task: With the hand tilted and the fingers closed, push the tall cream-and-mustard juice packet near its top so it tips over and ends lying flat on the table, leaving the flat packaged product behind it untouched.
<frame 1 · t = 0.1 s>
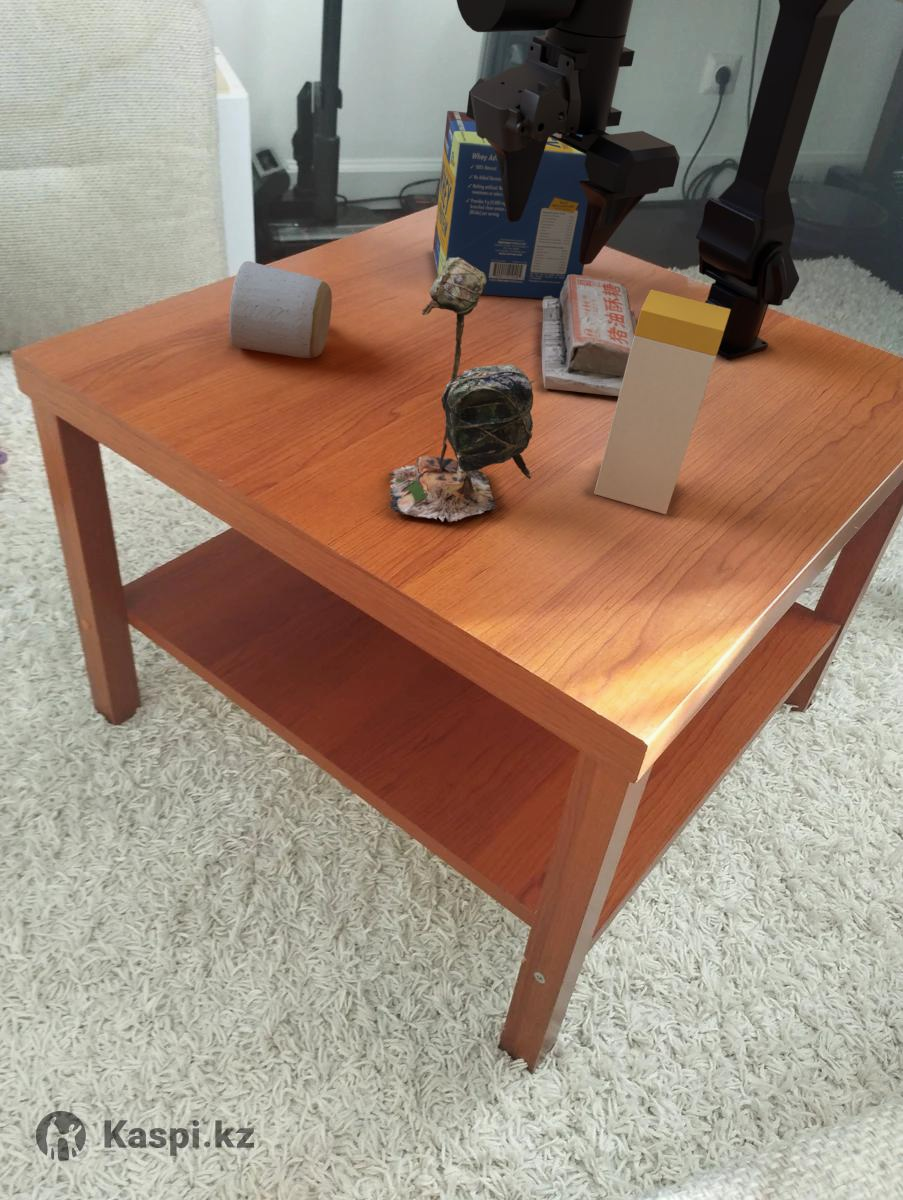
hand: (548, 241, 82), 15 cm above the table, tool pointing down, fingers open, 9 cm apart
packaged product: (589, 355, 100), on the table
protein box: (502, 279, 111), on the table
grey cylinder: (281, 344, 94), on the table
juice packet: (634, 491, 82), on the table
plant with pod: (454, 500, 78), on the table
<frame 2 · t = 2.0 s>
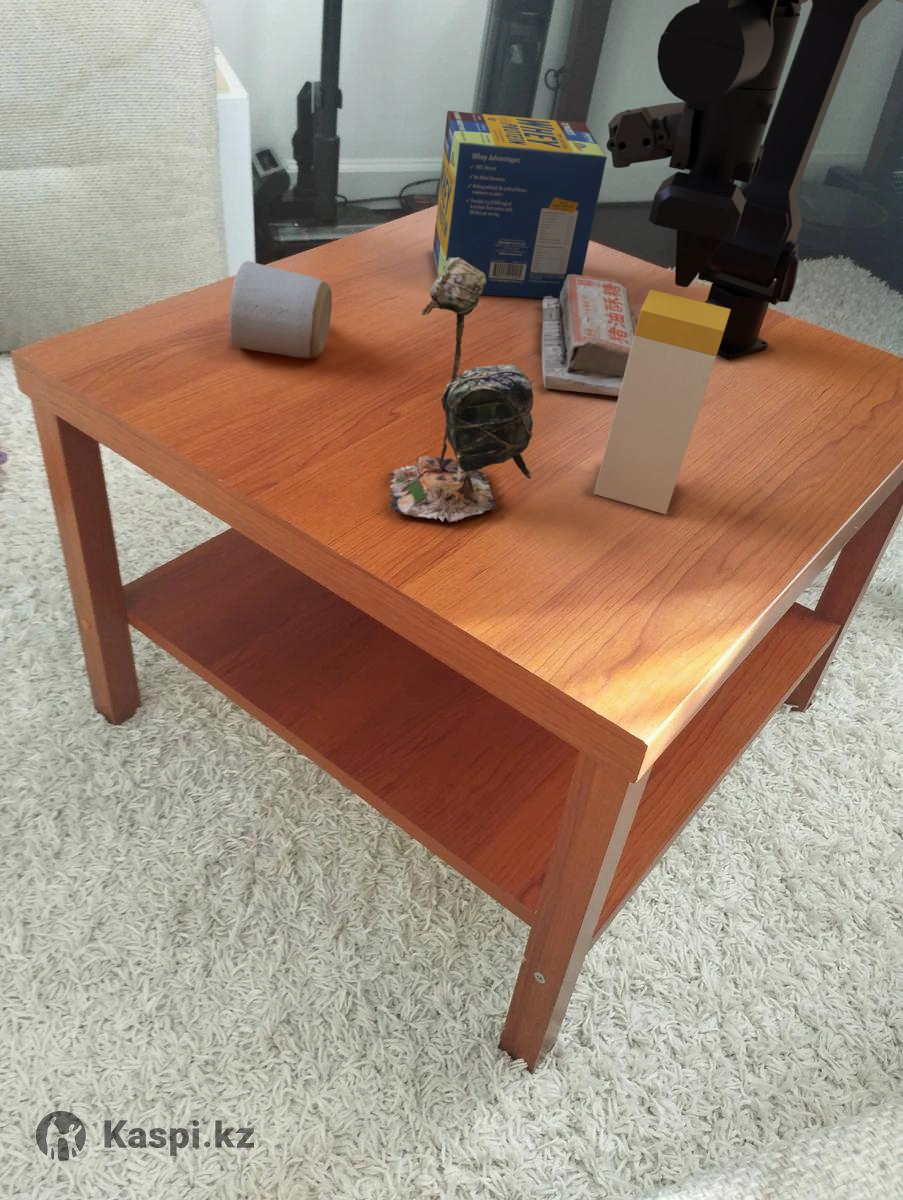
hand: (682, 284, 82), 13 cm above the table, tool pointing down, fingers closed
nothing on the table moved.
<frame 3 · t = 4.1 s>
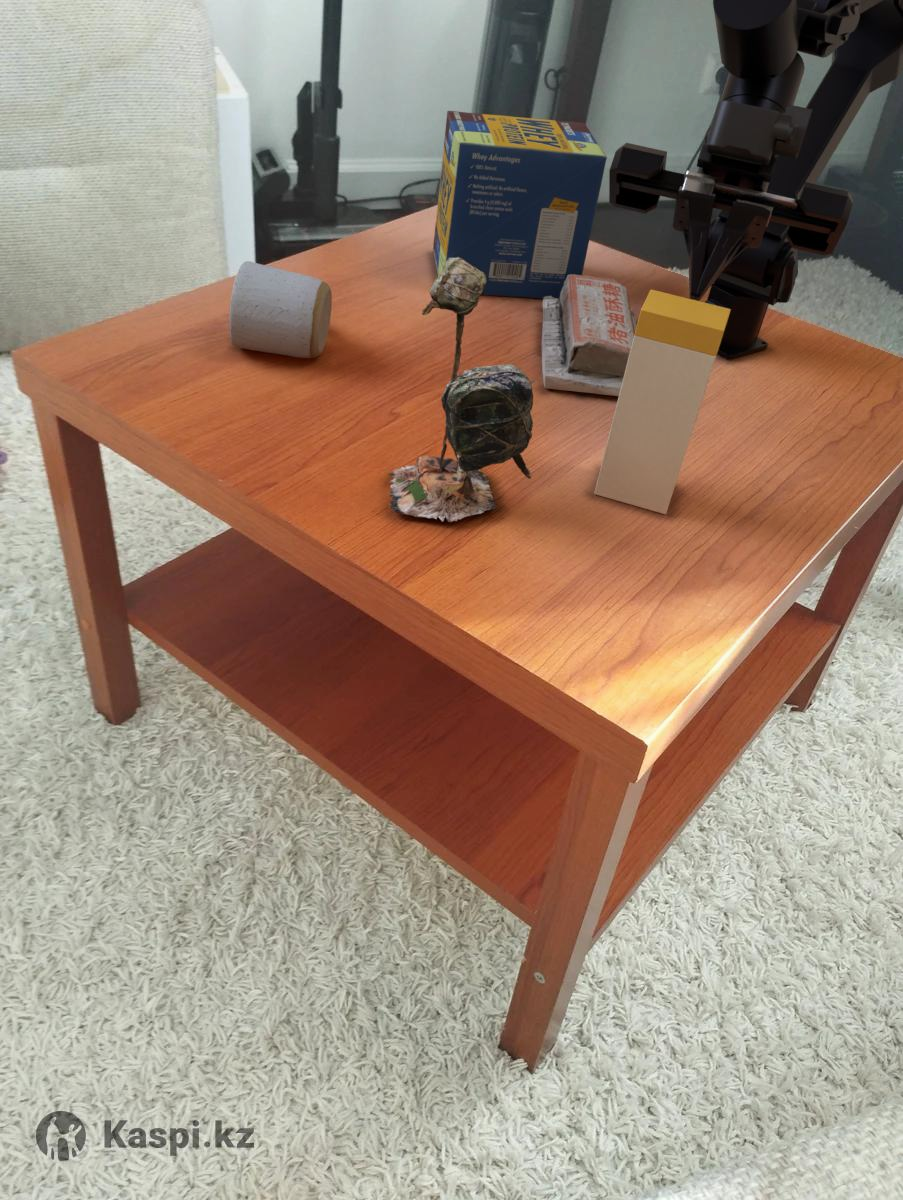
hand: (694, 298, 79), 13 cm above the table, tool tilted 45°, fingers closed
nothing on the table moved.
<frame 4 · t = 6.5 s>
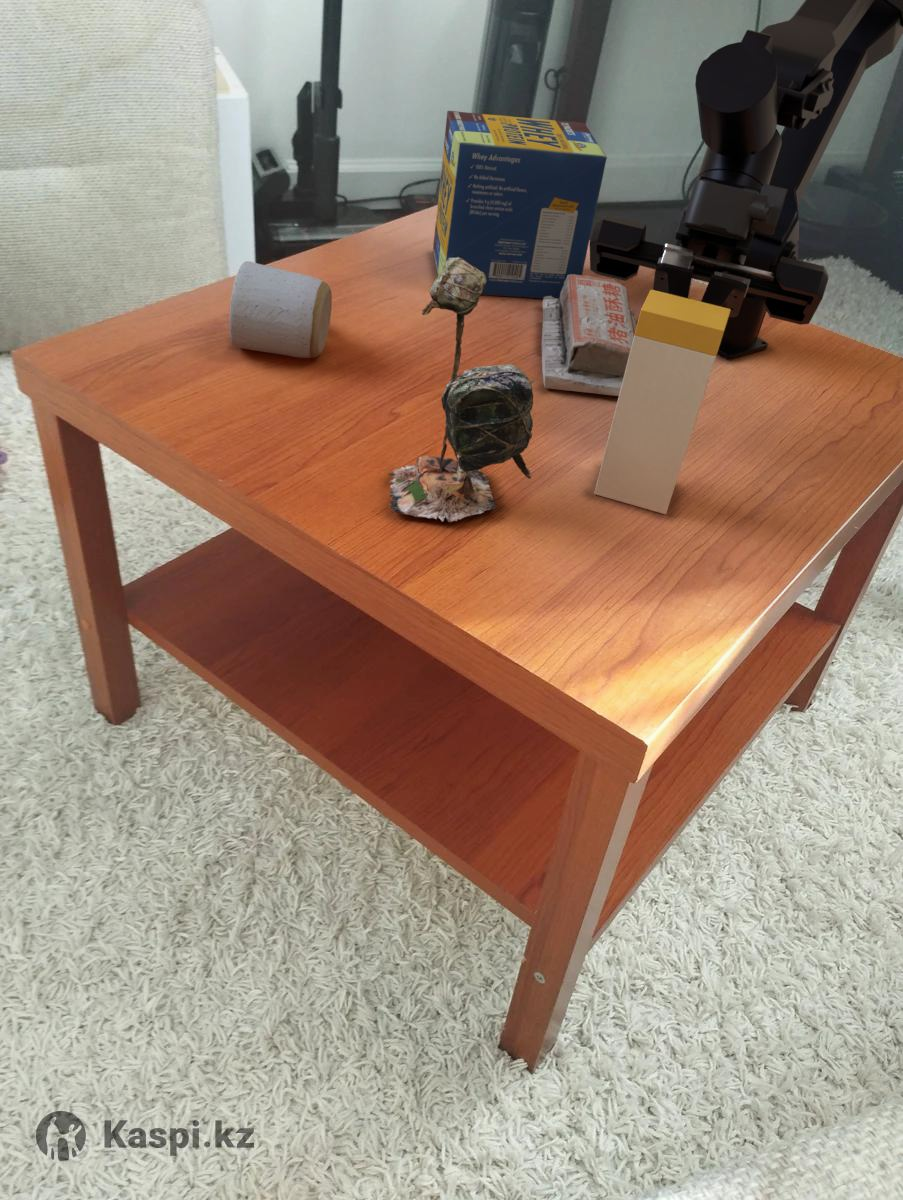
hand: (673, 367, 80), 9 cm above the table, tool tilted 45°, fingers closed
nothing on the table moved.
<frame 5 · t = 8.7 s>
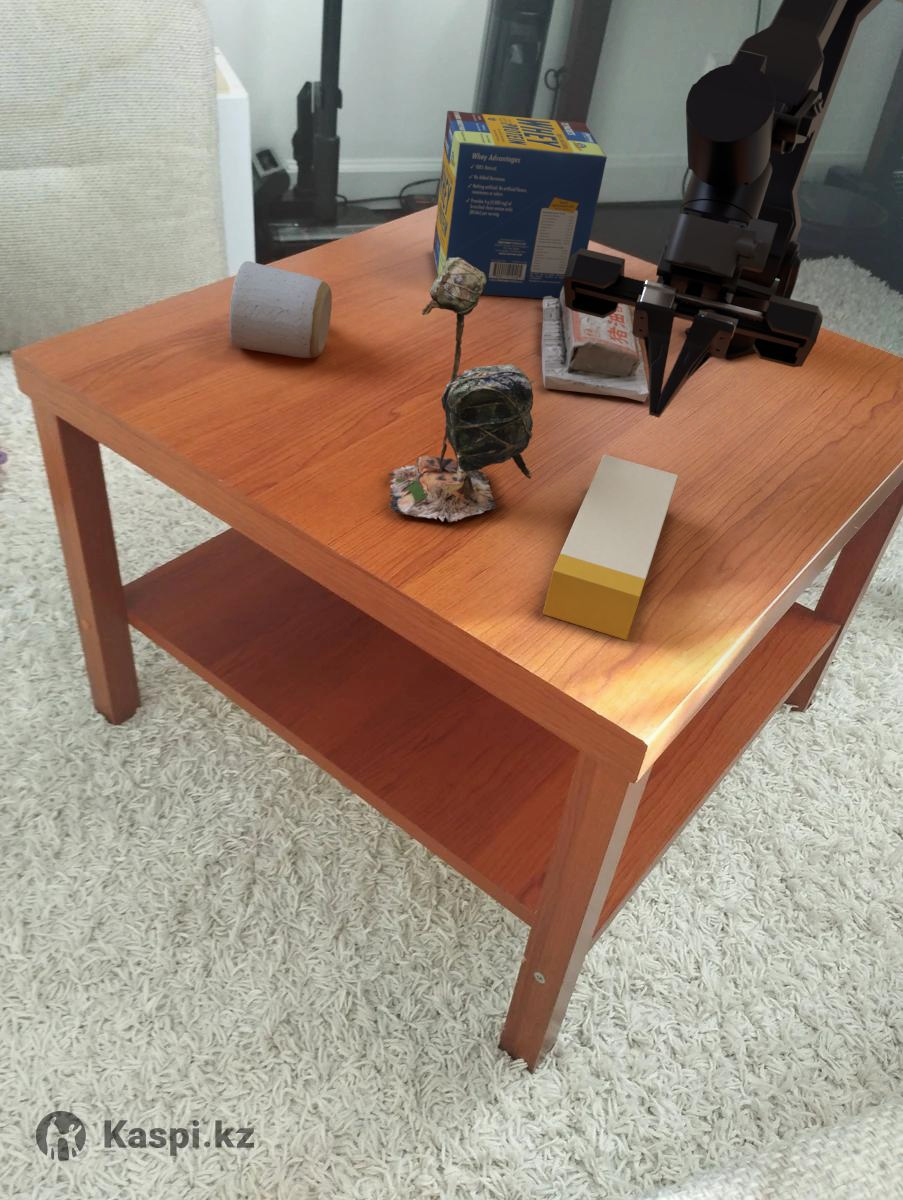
hand: (654, 414, 74), 9 cm above the table, tool tilted 45°, fingers closed
juice packet: (634, 485, 79), point 2 cm above the table, tilted 90°
everything else where it was.
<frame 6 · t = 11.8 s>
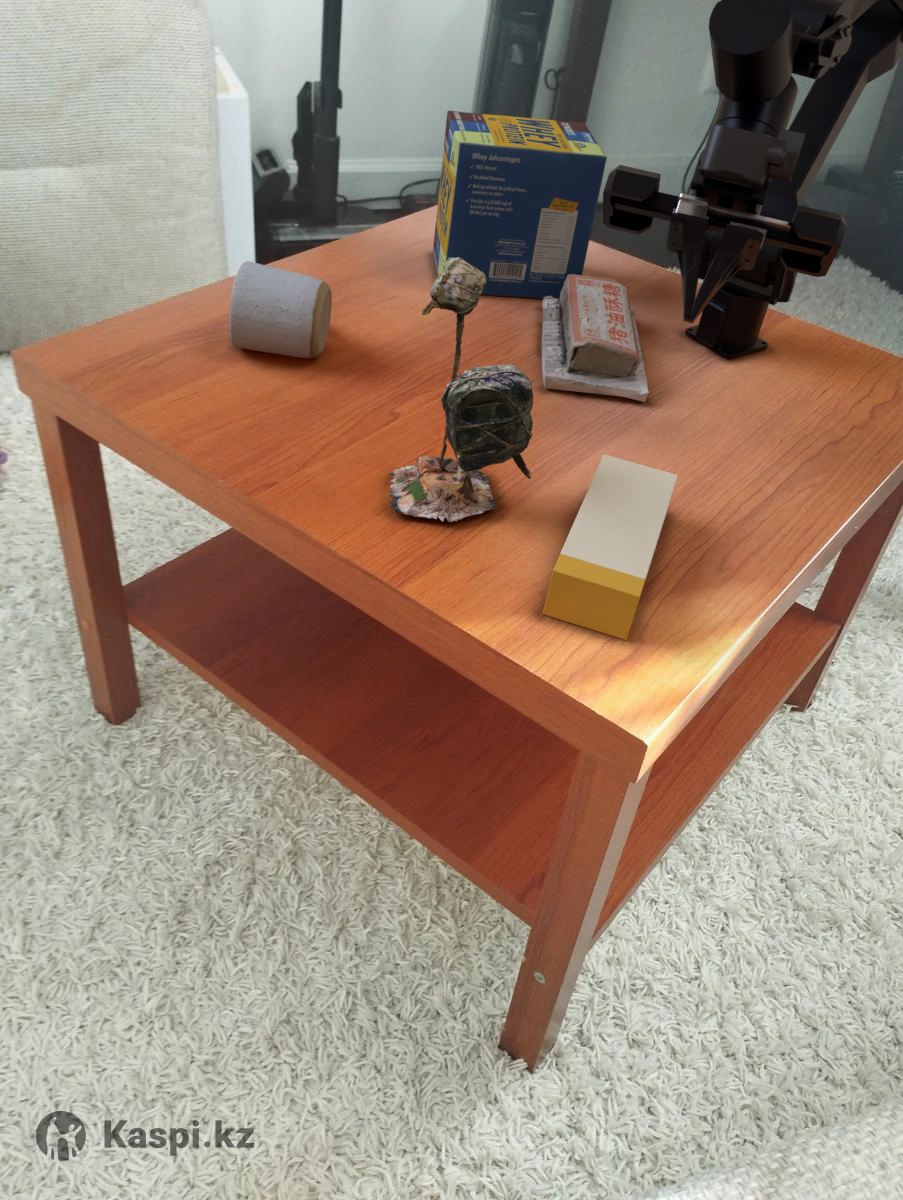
hand: (688, 320, 79), 12 cm above the table, tool tilted 45°, fingers closed
nothing on the table moved.
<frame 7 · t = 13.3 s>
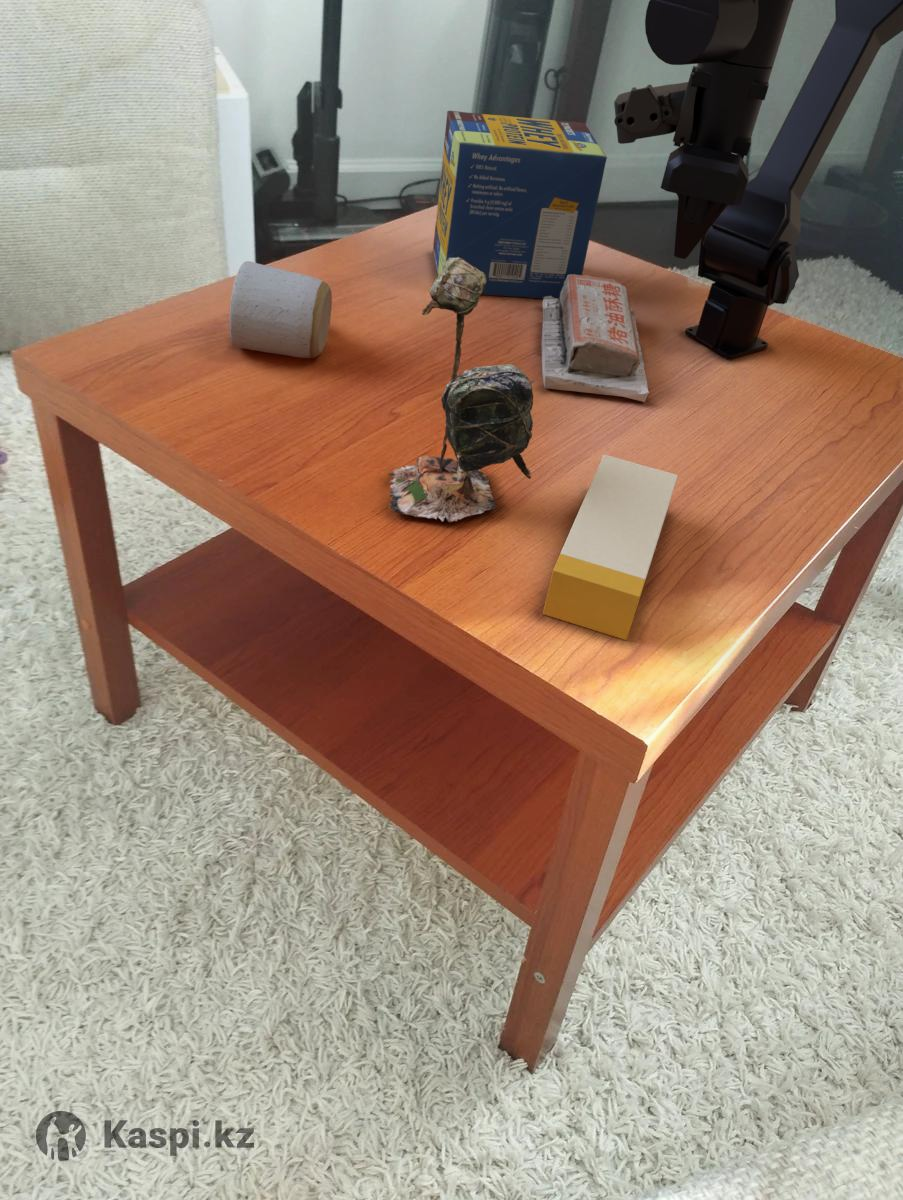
hand: (680, 256, 87), 13 cm above the table, tool pointing down, fingers closed
nothing on the table moved.
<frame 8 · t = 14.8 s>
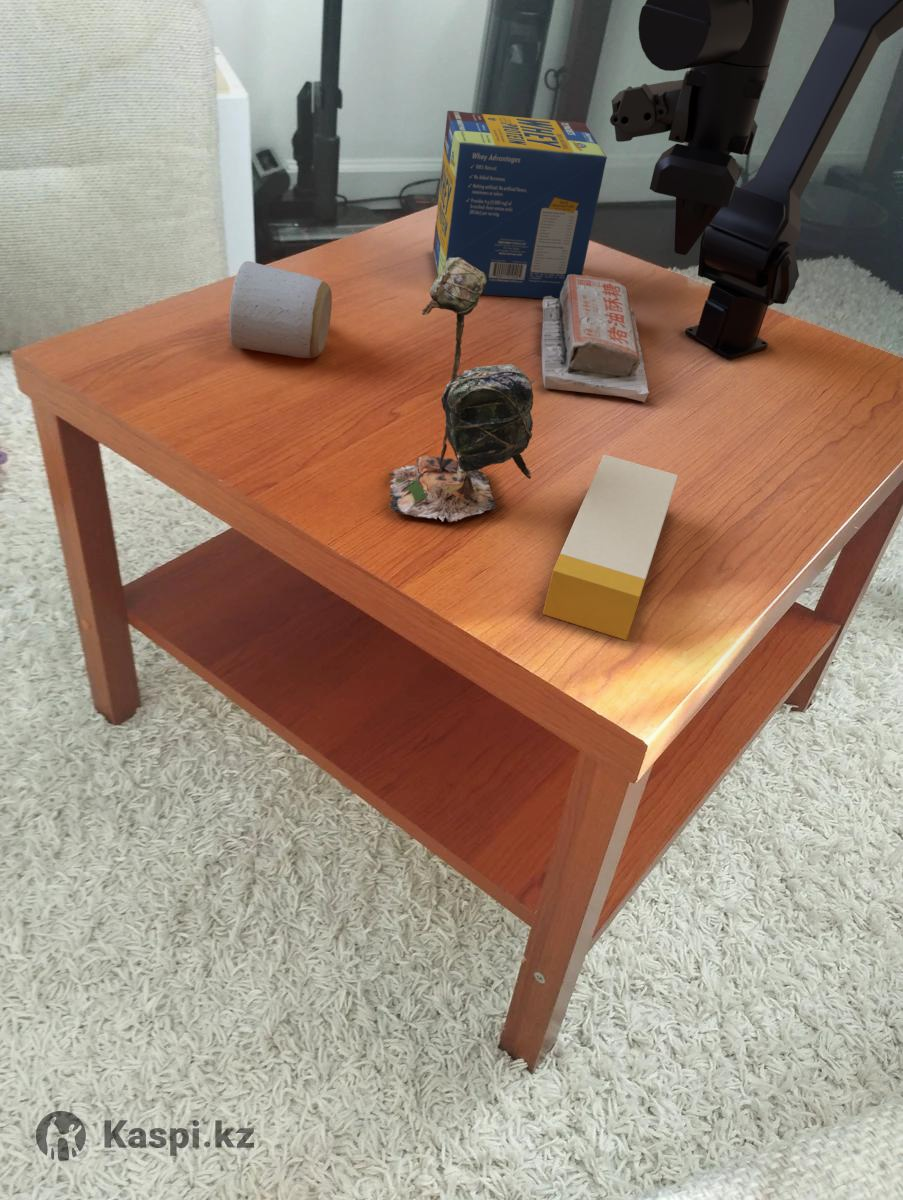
hand: (680, 252, 88), 13 cm above the table, tool pointing down, fingers closed
nothing on the table moved.
at the end: juice packet tilted 90°; juice packet inside the target area (6.4 cm from its centre), point 2.0 cm above the table; packaged product moved 0.2 cm from its start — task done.
